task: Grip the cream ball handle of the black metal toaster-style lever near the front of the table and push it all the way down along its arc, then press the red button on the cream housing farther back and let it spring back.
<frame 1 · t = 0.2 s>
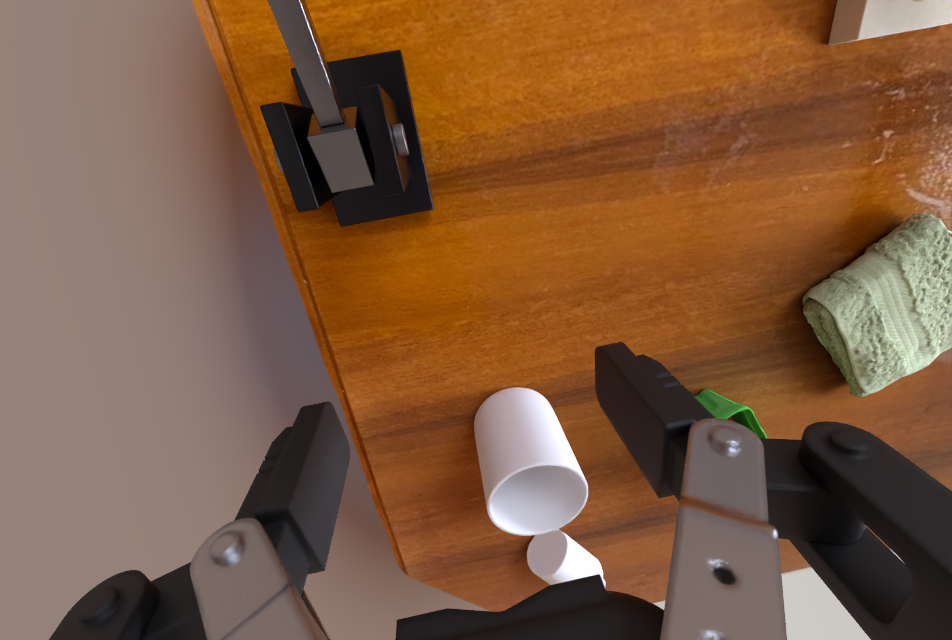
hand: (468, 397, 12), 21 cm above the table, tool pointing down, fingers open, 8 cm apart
roll: (566, 548, 51), on the table
bracket: (370, 144, 27), on the table
fruit basket: (695, 425, 44), on the table
cup: (518, 428, 41), on the table
lever: (294, 20, 15), point 12 cm above the table, hinge at 25.0°
washcloth: (874, 308, 39), on the table
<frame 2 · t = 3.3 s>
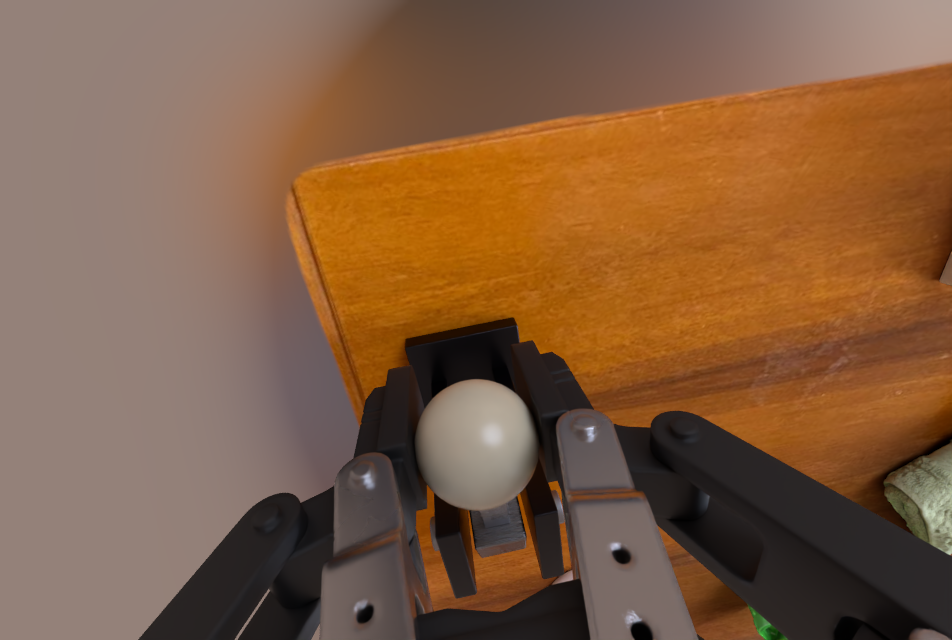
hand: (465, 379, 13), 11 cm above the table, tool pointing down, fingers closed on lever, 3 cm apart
bracket: (472, 390, 27), on the table
fruit basket: (762, 579, 43), on the table
lever: (489, 491, 14), point 12 cm above the table, hinge at 25.0°, touching gripper
washcloth: (951, 478, 39), on the table
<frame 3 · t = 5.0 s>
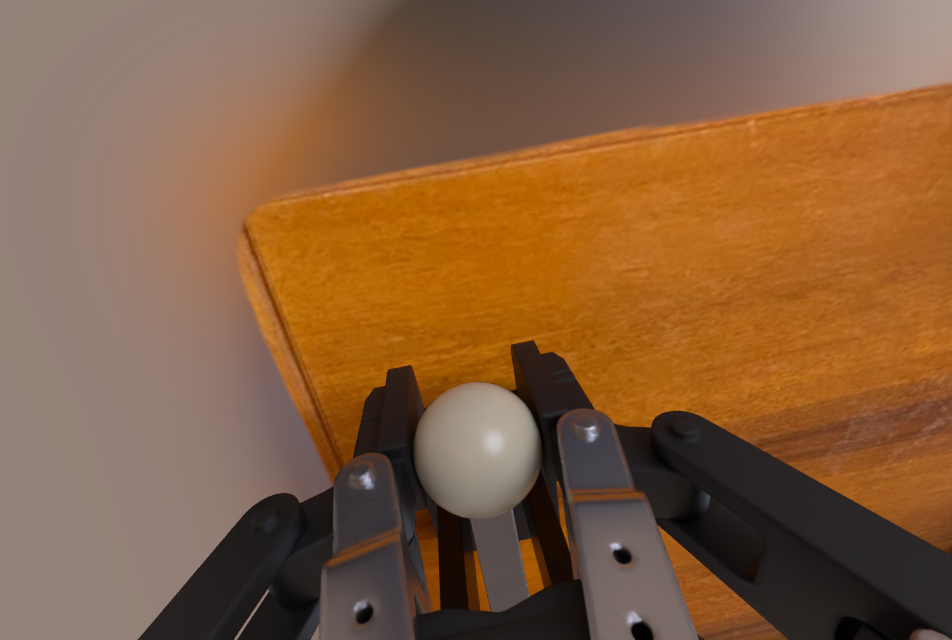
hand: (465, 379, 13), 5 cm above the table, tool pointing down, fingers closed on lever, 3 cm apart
bracket: (487, 469, 21), on the table
lever: (508, 594, 11), point 9 cm above the table, hinge at -11.4°, touching gripper
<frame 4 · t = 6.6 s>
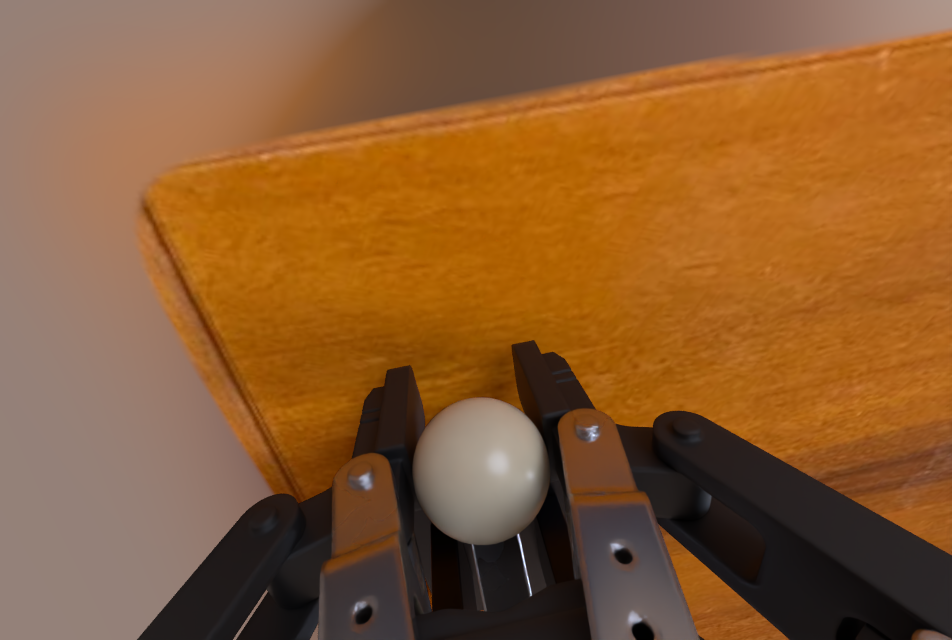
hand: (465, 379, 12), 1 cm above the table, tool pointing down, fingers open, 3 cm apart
bracket: (495, 515, 17), on the table
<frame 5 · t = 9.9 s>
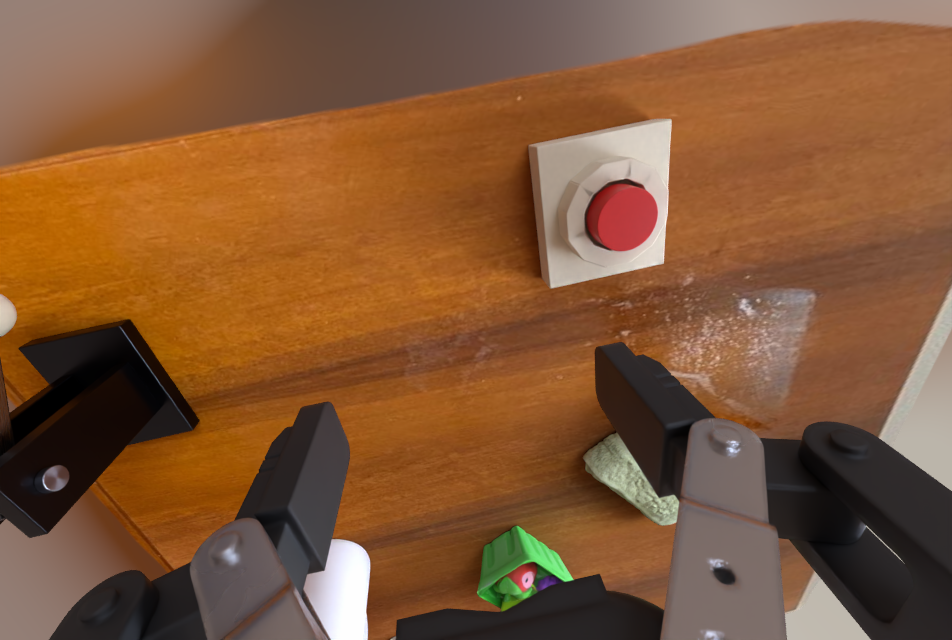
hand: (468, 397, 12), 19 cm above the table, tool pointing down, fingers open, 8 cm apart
button box: (593, 204, 29), on the table
bracket: (123, 383, 30), on the table
fruit basket: (517, 550, 47), on the table
cup: (342, 567, 44), on the table
button: (621, 217, 25), point 4 cm above the table, slide at 0.1 cm
washcloth: (662, 453, 43), on the table
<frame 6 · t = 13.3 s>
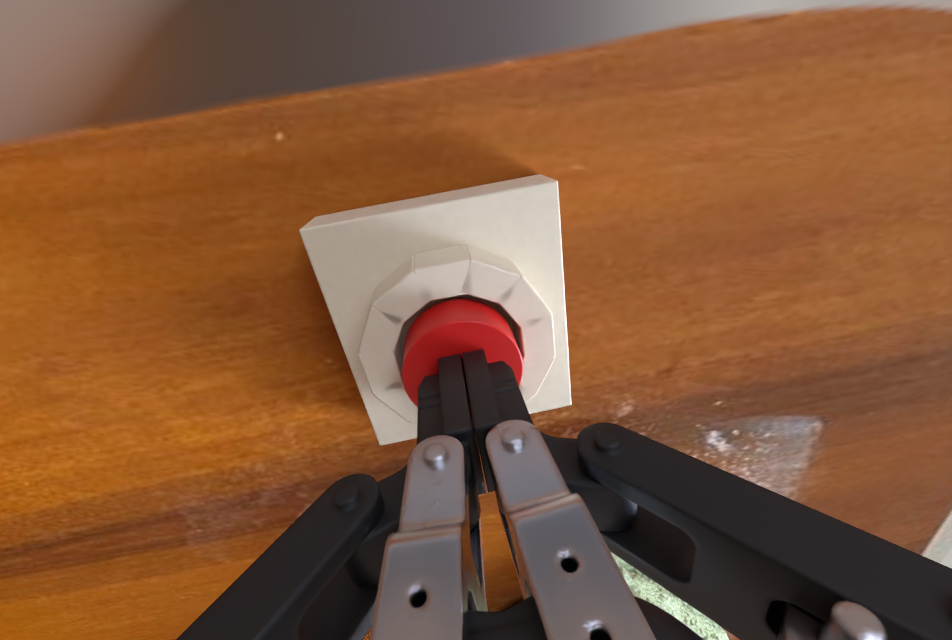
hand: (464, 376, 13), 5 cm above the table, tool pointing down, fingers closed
button box: (452, 308, 17), on the table
button: (461, 361, 13), point 4 cm above the table, slide at 0.0 cm, touching gripper
washcloth: (606, 611, 31), on the table
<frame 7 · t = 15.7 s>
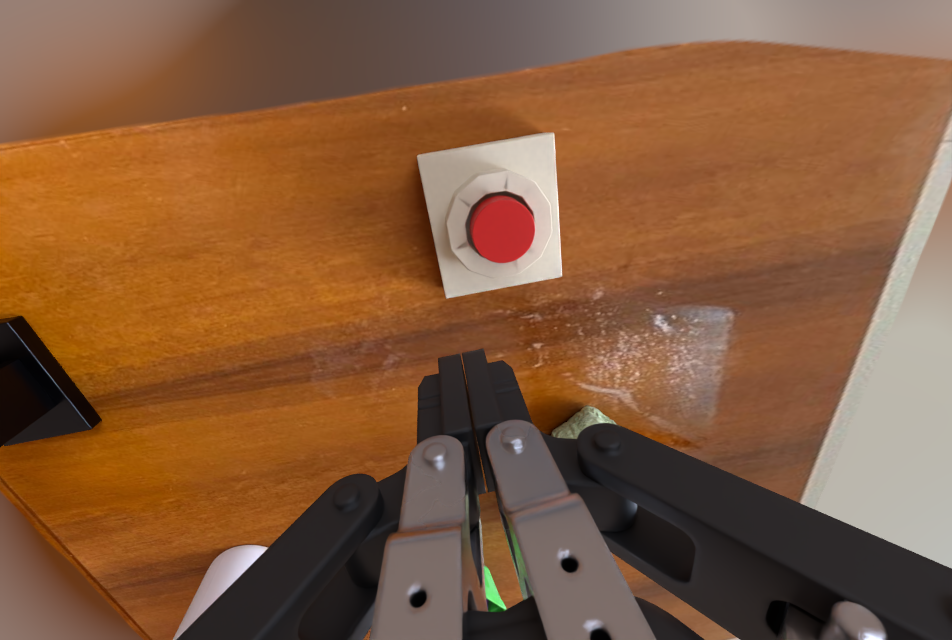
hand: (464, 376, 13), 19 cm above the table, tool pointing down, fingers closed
button box: (491, 216, 29), on the table
bracket: (20, 380, 30), on the table
fruit basket: (446, 563, 47), on the table
cup: (264, 574, 44), on the table
button: (501, 229, 25), point 4 cm above the table, slide at 0.1 cm
washcloth: (589, 469, 42), on the table
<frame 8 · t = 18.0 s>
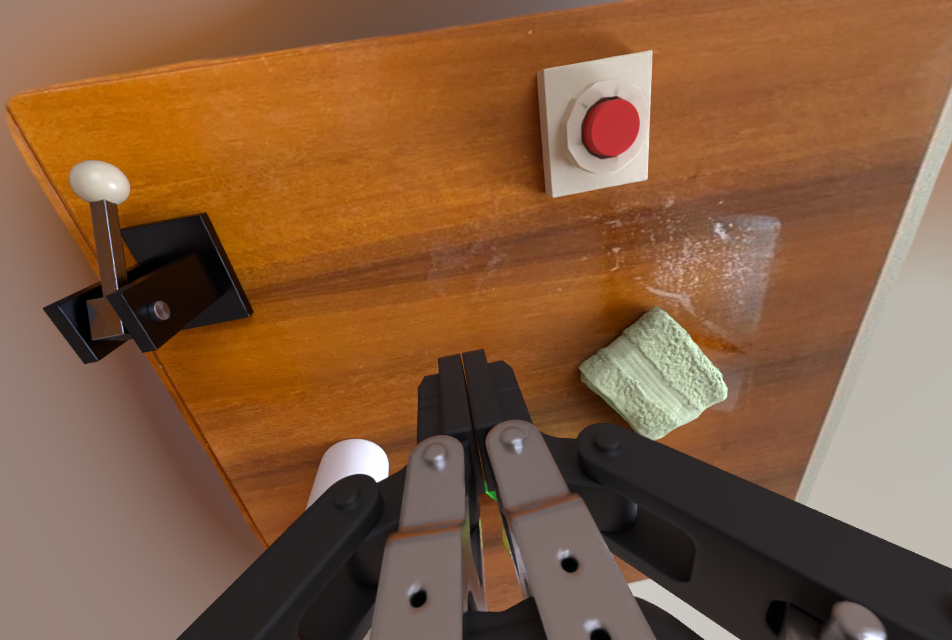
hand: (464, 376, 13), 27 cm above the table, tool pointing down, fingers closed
button box: (589, 128, 35), on the table
bracket: (194, 272, 36), on the table
cup: (363, 469, 50), on the table
lever: (110, 249, 28), point 7 cm above the table, hinge at -30.5°
button: (610, 128, 31), point 4 cm above the table, slide at 0.1 cm
washcloth: (649, 372, 49), on the table
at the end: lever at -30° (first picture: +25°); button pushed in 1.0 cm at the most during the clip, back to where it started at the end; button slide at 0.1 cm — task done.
